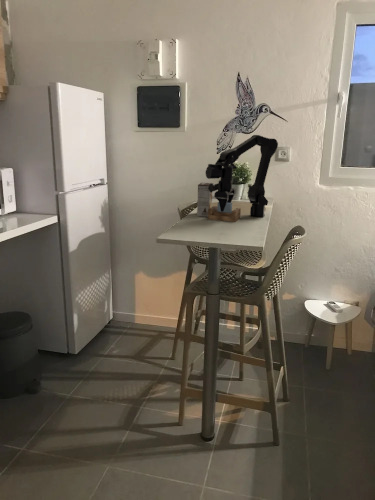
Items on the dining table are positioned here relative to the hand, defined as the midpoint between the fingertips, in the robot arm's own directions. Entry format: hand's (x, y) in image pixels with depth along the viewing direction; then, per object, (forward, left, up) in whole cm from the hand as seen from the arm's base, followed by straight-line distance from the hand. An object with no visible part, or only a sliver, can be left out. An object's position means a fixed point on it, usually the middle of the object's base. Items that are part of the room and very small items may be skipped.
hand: (224, 209), depth 197 cm
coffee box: (+12, -5, -5) cm, 14 cm away
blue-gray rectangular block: (0, 0, -2) cm, 2 cm away
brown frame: (0, 0, -4) cm, 4 cm away
